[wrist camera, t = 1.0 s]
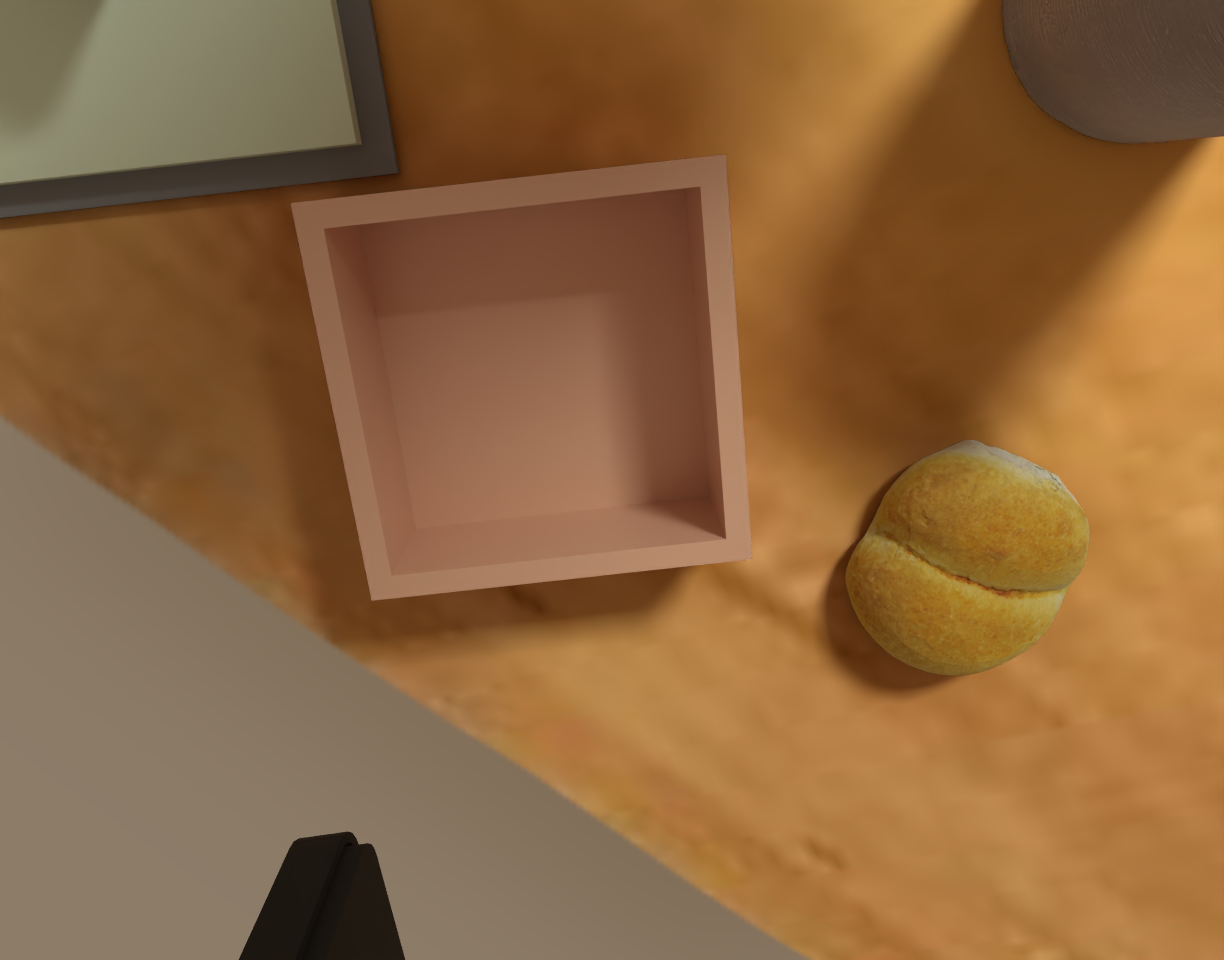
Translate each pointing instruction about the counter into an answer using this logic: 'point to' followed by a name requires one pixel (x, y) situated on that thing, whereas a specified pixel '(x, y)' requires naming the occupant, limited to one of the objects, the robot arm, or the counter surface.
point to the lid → (167, 84)
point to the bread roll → (967, 559)
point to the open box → (534, 374)
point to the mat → (243, 172)
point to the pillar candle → (1122, 65)
